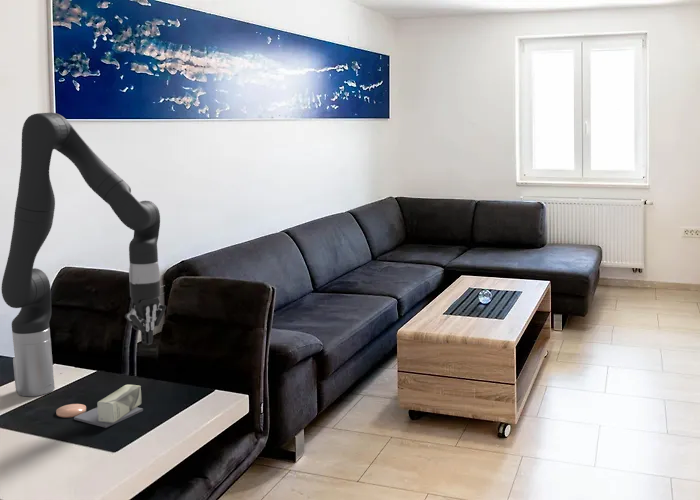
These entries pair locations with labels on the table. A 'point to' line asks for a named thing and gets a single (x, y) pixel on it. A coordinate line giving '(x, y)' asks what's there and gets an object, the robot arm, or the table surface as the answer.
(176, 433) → the table surface
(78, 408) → the glossy peach dome
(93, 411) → the mat
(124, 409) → the box
